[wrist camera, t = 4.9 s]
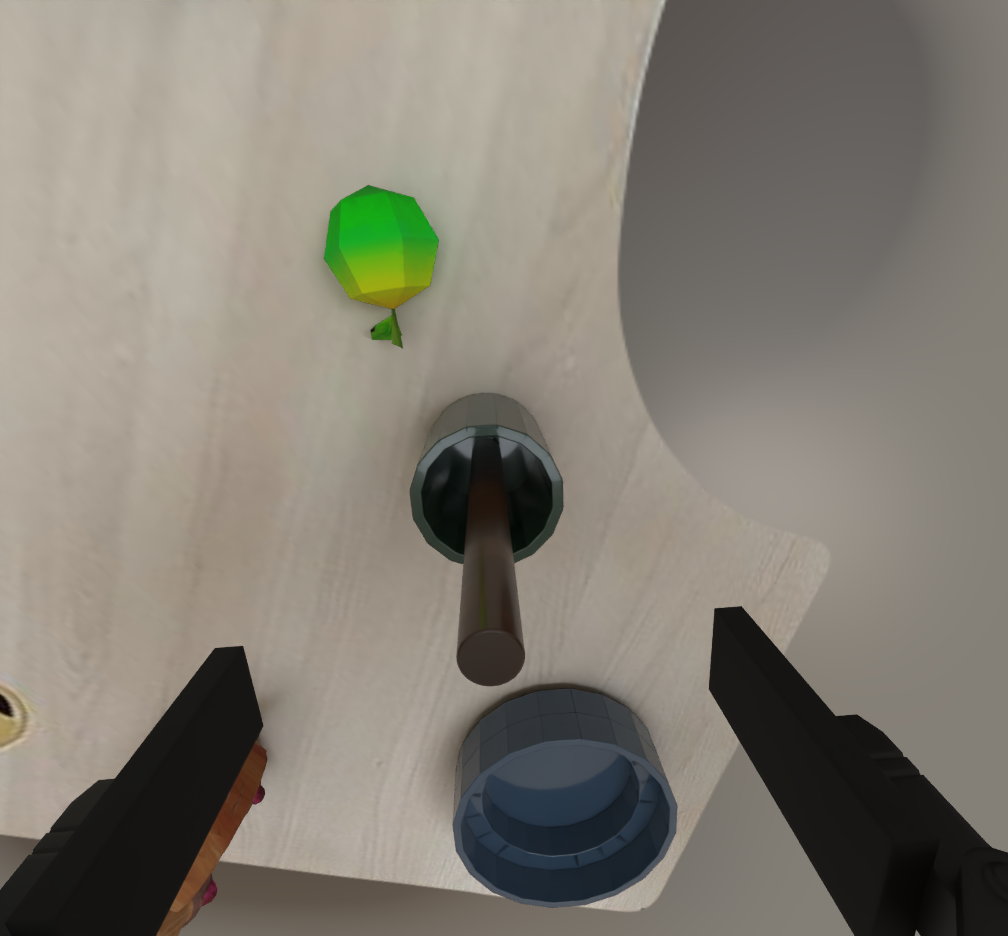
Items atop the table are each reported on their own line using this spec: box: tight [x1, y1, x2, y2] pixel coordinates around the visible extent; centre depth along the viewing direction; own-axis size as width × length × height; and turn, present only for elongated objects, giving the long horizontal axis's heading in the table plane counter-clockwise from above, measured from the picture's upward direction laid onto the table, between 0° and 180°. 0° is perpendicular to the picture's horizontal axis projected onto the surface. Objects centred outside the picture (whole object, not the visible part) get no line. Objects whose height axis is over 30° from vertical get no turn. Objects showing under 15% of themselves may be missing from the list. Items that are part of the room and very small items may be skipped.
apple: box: [324, 185, 439, 348], centre depth 30 cm, size 7×6×9 cm
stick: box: [456, 438, 525, 686], centre depth 26 cm, size 2×2×22 cm
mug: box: [156, 740, 267, 936], centre depth 36 cm, size 15×8×15 cm, turn 136°
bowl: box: [453, 689, 677, 908], centre depth 43 cm, size 17×17×6 cm
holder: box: [410, 393, 564, 564], centre depth 32 cm, size 8×8×10 cm
